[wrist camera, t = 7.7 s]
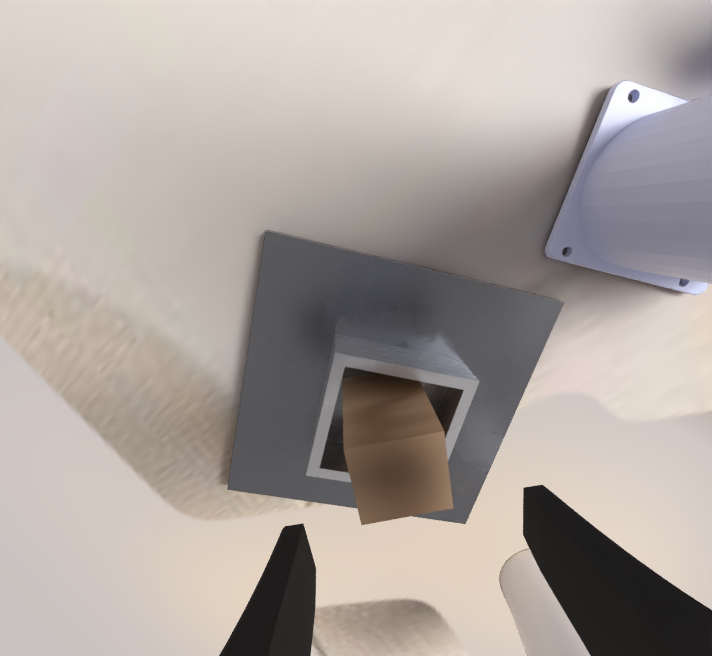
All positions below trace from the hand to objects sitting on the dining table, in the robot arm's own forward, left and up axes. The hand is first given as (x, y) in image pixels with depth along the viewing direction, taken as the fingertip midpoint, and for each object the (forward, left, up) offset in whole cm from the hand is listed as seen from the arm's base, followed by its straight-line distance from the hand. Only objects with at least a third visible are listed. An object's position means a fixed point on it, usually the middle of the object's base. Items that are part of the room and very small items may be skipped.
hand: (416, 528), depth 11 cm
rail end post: (0, +1, -9) cm, 9 cm away
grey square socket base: (0, +1, -9) cm, 9 cm away
